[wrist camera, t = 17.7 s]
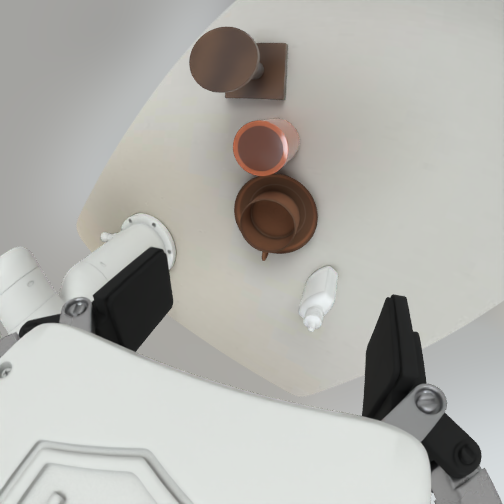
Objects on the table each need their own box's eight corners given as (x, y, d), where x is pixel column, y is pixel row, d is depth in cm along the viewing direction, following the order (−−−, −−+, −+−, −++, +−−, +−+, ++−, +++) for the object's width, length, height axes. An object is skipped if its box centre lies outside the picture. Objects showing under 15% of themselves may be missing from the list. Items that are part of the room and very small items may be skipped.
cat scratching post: (228, 98, 37) (184, 97, 26) (230, 45, 33) (187, 28, 23) (285, 100, 35) (260, 96, 25) (287, 45, 31) (263, 20, 21)
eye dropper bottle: (301, 269, 46) (285, 319, 36) (335, 263, 43) (329, 313, 33) (308, 292, 47) (294, 343, 37) (341, 287, 45) (336, 339, 35)
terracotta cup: (252, 160, 40) (232, 173, 33) (254, 116, 37) (233, 119, 30) (297, 166, 38) (286, 179, 32) (301, 120, 35) (290, 122, 28)
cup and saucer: (323, 246, 43) (318, 266, 38) (247, 249, 47) (234, 269, 42) (312, 166, 38) (306, 176, 33) (231, 176, 42) (213, 187, 37)
